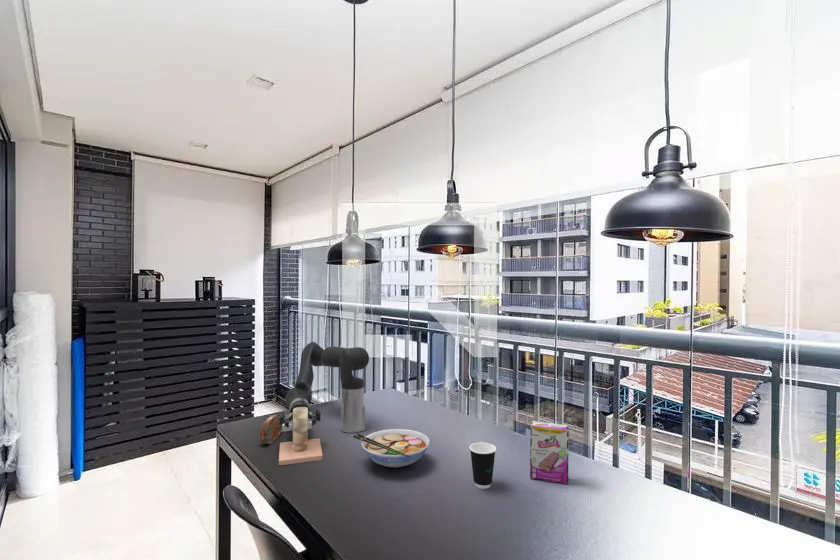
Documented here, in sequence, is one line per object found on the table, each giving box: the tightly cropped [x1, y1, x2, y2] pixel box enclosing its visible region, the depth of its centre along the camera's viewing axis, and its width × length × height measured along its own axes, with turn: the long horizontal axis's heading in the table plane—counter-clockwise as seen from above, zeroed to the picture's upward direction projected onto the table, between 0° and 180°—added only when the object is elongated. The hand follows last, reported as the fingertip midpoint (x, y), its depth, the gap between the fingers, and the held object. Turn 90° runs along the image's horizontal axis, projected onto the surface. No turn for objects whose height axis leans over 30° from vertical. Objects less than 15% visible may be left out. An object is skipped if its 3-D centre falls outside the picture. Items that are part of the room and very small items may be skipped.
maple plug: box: [292, 407, 309, 452], centre depth 143 cm, size 5×5×14 cm
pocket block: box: [281, 422, 313, 433], centre depth 171 cm, size 12×12×2 cm
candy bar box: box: [529, 420, 570, 485], centre depth 124 cm, size 11×5×16 cm, turn 71°
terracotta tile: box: [278, 438, 324, 466], centre depth 143 cm, size 14×16×2 cm
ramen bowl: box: [352, 428, 431, 469], centre depth 135 cm, size 25×23×8 cm
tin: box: [259, 414, 282, 445], centre depth 156 cm, size 15×3×8 cm, turn 177°
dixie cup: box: [469, 441, 497, 490], centre depth 120 cm, size 8×8×11 cm
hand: (300, 423), depth 141 cm, fingers open, 8 cm apart
